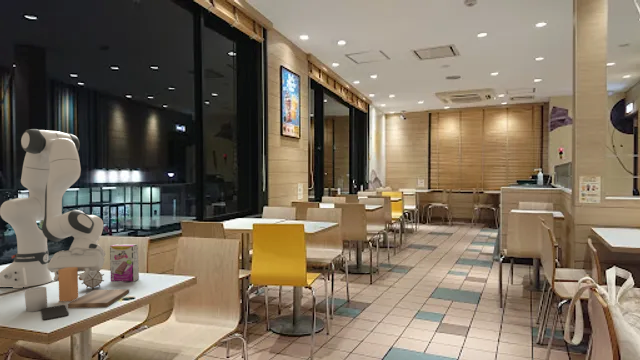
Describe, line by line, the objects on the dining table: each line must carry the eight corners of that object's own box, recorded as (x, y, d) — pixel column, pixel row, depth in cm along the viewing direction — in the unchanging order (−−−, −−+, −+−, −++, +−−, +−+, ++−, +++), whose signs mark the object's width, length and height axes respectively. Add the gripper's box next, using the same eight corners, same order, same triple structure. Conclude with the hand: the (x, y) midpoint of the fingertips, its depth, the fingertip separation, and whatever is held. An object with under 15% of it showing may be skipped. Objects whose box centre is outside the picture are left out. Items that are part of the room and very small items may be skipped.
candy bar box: (109, 281, 184) (109, 245, 184) (116, 279, 189) (115, 244, 189) (133, 282, 183) (132, 245, 183) (139, 279, 188) (138, 243, 188)
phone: (64, 304, 150) (69, 314, 138) (64, 306, 150) (69, 316, 138) (40, 308, 146) (42, 319, 134) (40, 311, 146) (42, 321, 134)
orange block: (59, 301, 155) (58, 270, 155) (66, 297, 160) (65, 267, 160) (71, 301, 155) (70, 269, 155) (78, 297, 160) (77, 267, 160)
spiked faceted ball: (90, 298, 172) (74, 282, 167) (90, 286, 179) (75, 271, 174) (110, 286, 174) (95, 270, 169) (109, 275, 181) (95, 260, 176)
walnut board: (67, 307, 147) (67, 303, 147) (94, 293, 165) (93, 290, 165) (107, 306, 147) (107, 302, 147) (129, 292, 165) (128, 289, 165)
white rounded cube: (21, 312, 143) (20, 292, 143) (32, 306, 149) (30, 287, 149) (41, 310, 144) (40, 290, 144) (51, 305, 150) (49, 286, 150)
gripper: (52, 246, 165) (37, 276, 155) (103, 245, 165) (91, 274, 156) (59, 255, 169) (45, 285, 159) (109, 254, 170) (98, 283, 160)
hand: (68, 280), depth 157 cm, fingers open, 8 cm apart
